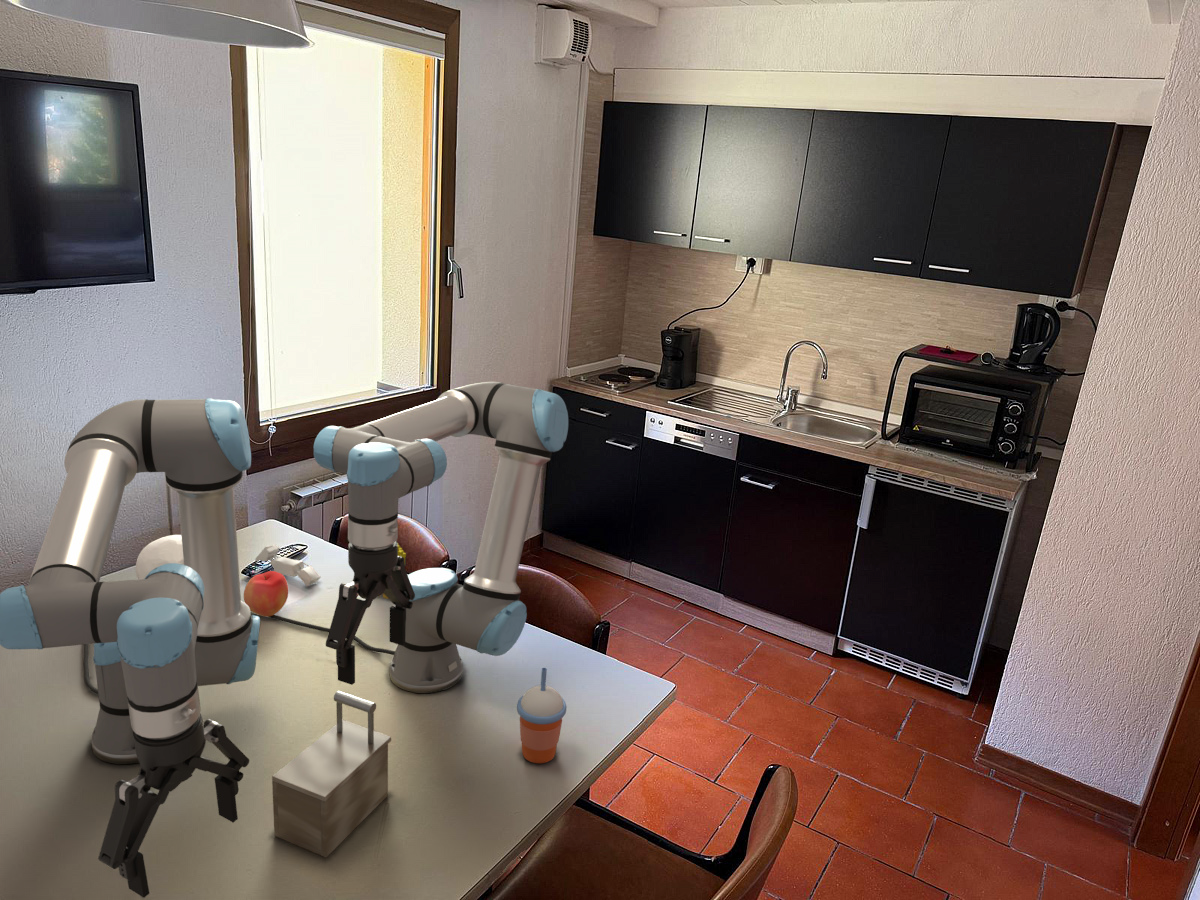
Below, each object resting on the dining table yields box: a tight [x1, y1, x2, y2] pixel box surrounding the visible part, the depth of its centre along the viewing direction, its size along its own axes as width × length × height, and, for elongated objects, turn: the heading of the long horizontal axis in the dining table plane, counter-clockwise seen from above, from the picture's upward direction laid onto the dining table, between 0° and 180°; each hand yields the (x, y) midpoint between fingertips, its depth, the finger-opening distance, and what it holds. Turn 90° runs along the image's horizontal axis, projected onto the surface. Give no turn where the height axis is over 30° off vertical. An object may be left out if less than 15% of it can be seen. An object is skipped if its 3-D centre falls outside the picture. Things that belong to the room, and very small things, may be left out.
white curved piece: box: [254, 544, 322, 587], centre depth 219 cm, size 20×4×7 cm, turn 62°
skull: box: [135, 534, 184, 580], centre depth 202 cm, size 13×22×16 cm, turn 73°
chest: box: [271, 743, 389, 858], centre depth 139 cm, size 16×10×10 cm, turn 158°
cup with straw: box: [516, 667, 567, 764], centre depth 157 cm, size 9×9×18 cm
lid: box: [271, 690, 392, 801], centre depth 137 cm, size 17×10×8 cm, turn 158°
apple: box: [243, 570, 289, 618], centre depth 199 cm, size 10×10×10 cm
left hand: (186, 852), depth 111 cm, fingers open, 13 cm apart
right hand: (373, 661), depth 140 cm, fingers open, 13 cm apart
